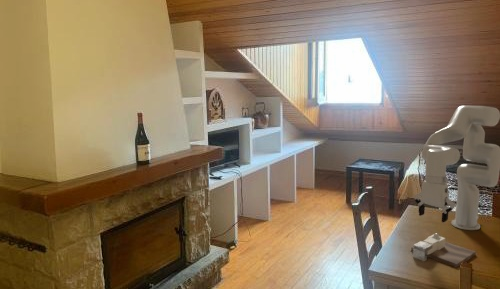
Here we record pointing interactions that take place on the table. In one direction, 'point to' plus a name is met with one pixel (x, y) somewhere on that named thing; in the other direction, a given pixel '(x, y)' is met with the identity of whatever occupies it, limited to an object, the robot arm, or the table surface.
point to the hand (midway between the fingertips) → (432, 218)
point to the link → (435, 243)
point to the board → (452, 254)
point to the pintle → (436, 236)
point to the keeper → (421, 250)
